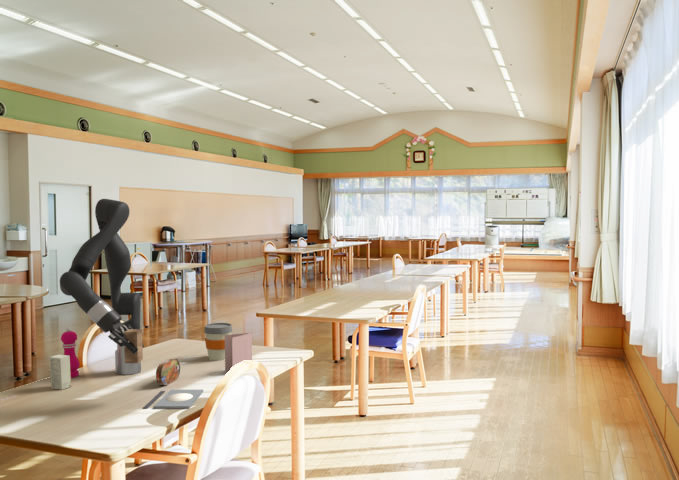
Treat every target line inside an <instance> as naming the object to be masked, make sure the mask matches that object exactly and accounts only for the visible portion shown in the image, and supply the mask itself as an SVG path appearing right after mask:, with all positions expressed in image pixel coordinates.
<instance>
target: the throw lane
mask: <svg viewBox="0 0 679 480" xmlns="http://www.w3.org/2000/svg"><path fill="white" fill-rule="evenodd" d="M165 392H166V391H165V390H160V391H159V392H158V393H157V394H156V395H155V396H154V397H152V399H151V400H149V401H148V402H147V403H146V404H145V405H144V406H143V407H142V410H143V409H144V410H145V409H149V407H151V406H152V405H153V404H155V402H156V401H157V400H158V399H159V398H160V397H161V396H163V394H165ZM203 393H204V389H170V390H169V391H168V392H167V393H166V394H165V395H164V396H163V397H162V398H160V400H158V401H157V402H156V404H155V405H154V406H153V409H160V410H161V409H162V410H163V409H164V410H165V409H166V410H167V409H168V410H169V409H172V410H173V409H176V410H177V409H182V410H184V409H185V410H186V409H189V410H190V408H192V406H193V404H195V402H196V401H197V400H198V399H199V398H200V396H201V395H202V394H203Z"/></svg>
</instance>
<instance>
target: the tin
mask: <svg viewBox="0 0 679 480" xmlns="http://www.w3.org/2000/svg"><path fill="white" fill-rule="evenodd" d="M180 374H181V364H180V361H179V359H178V358H170V359H167V360H165V361H164V362H162V363H159V365H157V368H156V371H155V380H156V382H157V384H158V386H168V385H170V384H171V383H173V382H175V381H176V380H178V378H179V376H180Z"/></svg>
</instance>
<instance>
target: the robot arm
mask: <svg viewBox="0 0 679 480" xmlns="http://www.w3.org/2000/svg"><path fill="white" fill-rule="evenodd" d="M94 209H95V211H94V213H95V214H94V215H95V220H96V223H97V227H98V229H99V231H98V232H97V233H96V234H94V235H93V236H91V237H89V239H87V240H86V241H85V242H84V243H83V244H82V245H81V246H80V247H79V249H78V250H77V253H76V254H75V255H74V257H73V259H72V262H71V266H70V268H69V269H68V271H65V272H63V273H62V275H60V278H59V287H60V289H59V290H60V291H61V292H62V294H64V295H65V296H69V297H72V298H73V299H74V300H75V301H76V303H77V306H79V308H80V309H81V310H82V311H83V312H84V313H85V314H87V316H88V318H89V319H90V320H91V321H92V322H94V323H95V324H96V326H98V327H99V328H100V330H101V331H103V333H108V332H109V335H108V336H107V337H108V339H110V340H111V341H113V342H114V343H115V344H116V350H115V352H114V355H115V359H114V361H115V374H118V375H123V376H126V375H134V374H138V373H140V372H142V361H140V362H139V363H125V351H124V347H127V348H128V349H129V350H130V351H131V352H132V353H133V354H135V353H136V352H137V351H138V348H137V347H136V346H135V345H134V344H133V343H132V342H130V340H129V339H128V338H127V335H126V334H125V333H124V332H125V331H127V330H129V329H141V305H142V304H141V303H142V302H141V296H140V293H138V292H121V286H122V284H123V283H124V280H125V279H126V277H127V276H128V274H129V272H130V270H131V267H132V262H131V261H132V259H131V254H130V250H129V248H128V246H127V244H126V243H125V242H124V240H123V239H122V238H121V236H120V235H119V232H120V230H121V229H122V228H123V227H124V225H126V223H127V221H128V219H129V217H130V212H131V211H130V206H129V205H128V204H127V203H126V202H124V201H120V200H115V199H109V198H101V199H99V200H97V202H96V204H95V208H94ZM102 252H104V258H105V265H106V271H107V274H108V275H107V276H108V280H109V289H110V300H111V301H110V302H111V305H110V304H108V302H107V301H105V300H104V299H103V298H102V297H101V296H99V294H98V293H97V292H95V291H94V290H93V288H92V287H91V286H90V285H89V284H88V282H87V281H86V280H87V278H88V276H89V273H90V272H91V270H92V269H93V267H94V266H95V264H96V263H97V260H98V259H99V258H100V256H101V254H102ZM130 315H131V316H130ZM122 316H130V318H129V319H128V320H126V321H123V322H121V321H122V320H123V319H122V318H123V317H122ZM144 347H145V346H144V344H143V343H142V348H144Z"/></svg>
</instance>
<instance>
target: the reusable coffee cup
mask: <svg viewBox="0 0 679 480" xmlns="http://www.w3.org/2000/svg"><path fill="white" fill-rule="evenodd" d="M203 332H204V336H205V337H204V341H205V348H206V349H207V355H208V360H210V361H222V360H221V359H225V335H231V334H232V332H233V326H232V323H227V322H214V323H213V322H212V323H208V324H205V325H204V331H203Z"/></svg>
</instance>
